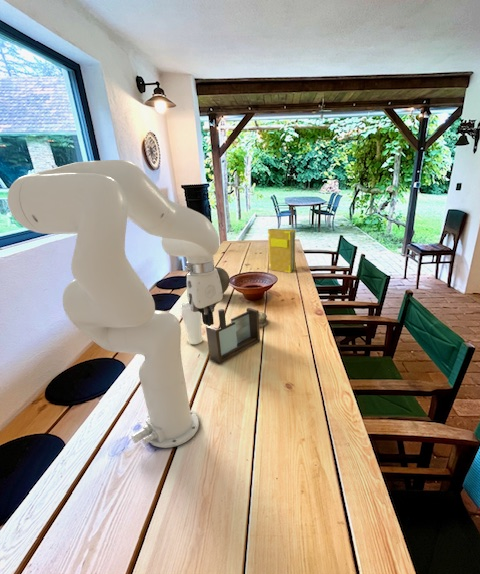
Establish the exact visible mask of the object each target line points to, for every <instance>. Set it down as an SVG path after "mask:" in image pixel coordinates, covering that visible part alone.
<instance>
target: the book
mask: <svg viewBox="0 0 480 574" xmlns="http://www.w3.org/2000/svg"><path fill="white" fill-rule="evenodd" d="M267 244H268V266H269V267H268V268H269V270H271V271H276V272H284V273H289V274H290V273H293V272H294V271H296V229H285V228H283V229H282V228H268V229H267Z"/></svg>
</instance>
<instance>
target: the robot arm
mask: <svg viewBox="0 0 480 574" xmlns="http://www.w3.org/2000/svg"><path fill="white" fill-rule="evenodd" d="M7 205H8V206H7V207H8V209H9V212H10V214H11V215H12V217H13V218H14V219H15V221H17V222H18V224H20V225H21V226H22V227H23V228H25V229H27V230H28V231H31V232H34V233H37V234H43V235H65V234H66V235H71V234H72V235H76V239H75V240H76V241H75V245H74V249H73V254H72V258H71V264H70V269H71V270H70V271H71V274H72V276H73V278H74V279H73V280H71V281H70V282H69V283H68V284H67V285H66V287H65V288H64V290H63V294H62V307H63V311H64V313H65V315H66V318H68V320H69V321H70V322H71V324H72V325H74V326H75V327H76V328H77V329H78V330H79V331H80V332H82V333H83V334H84V335H85V336H86V337H87V338H89V340H91V341H92V342H94V344H96V345H97V346H98V347H100V348H101V349H103V350H105V351H107V352H111V353H119V354H133V355H142V356H143V357H144V361H143V362H142V363H141V365H140V367H139V370H138V375H139V376H138V377H139V381H140V385H141V389H142V390H141V391H142V394H143V398H144V402H145V406H146V409H147V414H148V419H146V420H145V423H146V424H145V426H143V429H141V430H140V431H137V432H135V433H134V434H132V435H131V440H132V441H133V443H134V444H136V443H139V442H140V441H142V443H143V444H144V445H147V444H149V443H150V444H151V445H152V446H155V447H157V448H162V449H163V448H164V449H168V448H175V447H178V446H180V445H182V444H184V443H187V442H188V441H189V440H190V439H192V438H193V437H194V436H195V434H196V433H197V432H198V430H199V426H200V421H199V416H198V415H197V414H196V413H195V412H194V411H192V410H191V407H190V401H189V395H188V390H187V385H186V378H185V373H184V366H183V359H182V346H181V345H182V327H181V323H180V320H179V318H178V317H177V316H175V314H173V313H171V312H169V311H166V310H157V309H156V303H155V300H154V297H153V296H152V294H151V292H150V290H149V288H148V287H147V286H146V285H145V283H144V281H143V280H142V279H141V278H140V276H139V275H138V273H137V272H136V270H135V269H134V268H133V266H132V264H131V262H130V261H129V260H128V257H127V255H126V232H127V225H128V220H129V221H130V222H132V223H133V224H135V226H137V227H138V228H140V229H141V230H142V231H144V232H145V233H146V234H149V235H151V236H155V237H159V238H161V240H160V241H161V247H162V249H163V251H164V252H165V253H166V254H167V255H169V256H171V257H178V258H179V257H183V258H184V257H185V258H186V266H185V267H184V271H185V272H186V273H187V274H186V295H187V301H188V302H189V304H190V305H191V311H193V312H198V311H199V312H200V313H201V321H202V323H203V324H204V325H206V326H211V327H212V326H213V325H214V324H215V322H214V312H215V307H216V305H218V304H219V303H220V302H221V301H222V300H223V298H224V293H222V286H221V281H220V277H219V274H218V271H217V269H215V268H214V267H215V262H214V261H215V260H214V255H216V254H217V253H218V251H219V248H220V237H219V234H218V231H217V229H216V227H215V226H214V225H213V223H212V222H211V221H210V219H209V218H208V217H207V216H205V215H204V214H202V213H200V212H199V211H196V210H194V209H192V208H190V207H188V206H186V205H182V204H181V203H177V202H175V201H172V200H171V199H170V198H168V196H167V195H166V194H165V193H164V192H163V191H162V190H161V189H160V188H159V187H158V186H157V185H156V184H155V183H154V182H153V180H152V179H151V178H150V177H149V176H148V175H147V174H146V173H145V172H144V170H142V169H141V168H140V166H138V165H137V164H135V163H133V162H131V161H129V160H124V159H104V160H88V161H79V162H73V163H69V164H65V165H62V166H61V165H60V166H58V167H54V168H49V169H46V170H42V171H38V172H37V171H36V172H33V173H29V174H26V175H22V176H20V177H18V178H17V179H15V180H14V181H13V183H11V185H10V187H9V189H8V192H7Z"/></svg>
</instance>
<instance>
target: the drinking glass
mask: <svg viewBox="0 0 480 574" xmlns="http://www.w3.org/2000/svg"><path fill="white" fill-rule="evenodd" d="M180 312H181V317H182V321H183V326H184V329H185V333H186V337H187V342H188V344H190V345H199V344H201V343H202V342H203V329H202V313H200V312H199V311H198V312H193V311H191V305H190V304H189V302H184V303H182V304H181V305H180Z"/></svg>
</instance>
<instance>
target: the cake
mask: <svg viewBox="0 0 480 574" xmlns="http://www.w3.org/2000/svg"><path fill="white" fill-rule="evenodd" d="M267 318H268V316H267V314H266V313H264V312H262V311H259V328H263V327H265V326H267V325H268V319H267Z"/></svg>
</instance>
